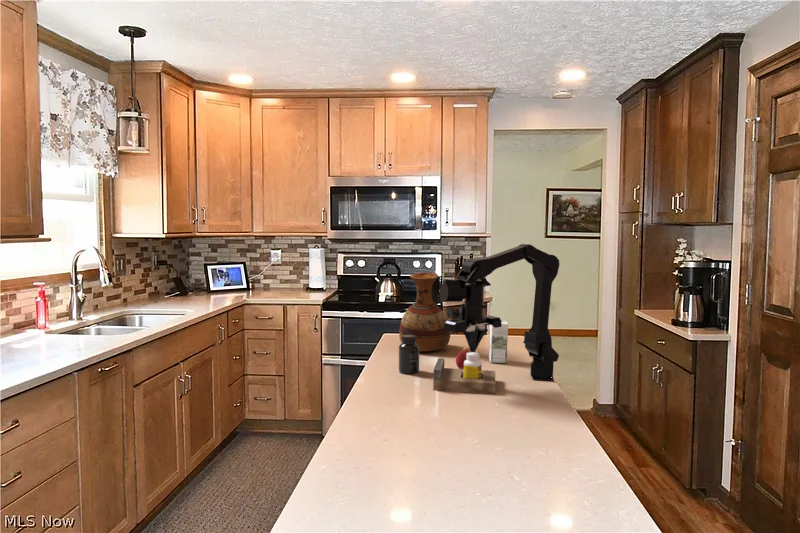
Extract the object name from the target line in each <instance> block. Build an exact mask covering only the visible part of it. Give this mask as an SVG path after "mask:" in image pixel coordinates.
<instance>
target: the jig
mask: <svg viewBox="0 0 800 533" xmlns="http://www.w3.org/2000/svg"><path fill="white" fill-rule="evenodd" d="M445 360H446V359H445V358H442V357H441V358H439V357H438V358H437V361H436V363H435V366H434V368H433V376H432V378H433V384H432V385H433V387H432V390H434V391H445V392H446V391H447V392H461V393H462V392H463V393H474V394H475V393H476V394H477V393H478V394H491V395H495V394H496V370H485V369H483V370H481V379H469V378H463V373H464V369H459V368H453V367H452V368H448V367H445Z"/></svg>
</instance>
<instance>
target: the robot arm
mask: <svg viewBox="0 0 800 533" xmlns="http://www.w3.org/2000/svg"><path fill="white" fill-rule="evenodd" d="M522 260H524V261H526V262H527V263H528V264H530V265H531V267H532V275H533V277H534V280H535V288H534V300H533V301H534V302H533V310H532V324H531V327H530V329H529V330H525V331H524V339H523V344H524V348H525V350H526V351H527V352H528V355H529V357H530V358H532V361H530V368H529V369H530V370H529V371H530V372H529V375H530V377H531V379H532V380H534V381H536V380H537V381H550V382H553V380H555V379H554V363H555V362H558V360H559V356H560V355H559V353H558V352H557V351H556V350H555V349H554V348H553V343H552V342H553V341H552V340H553V339H552V336H551V333H550V331H549V322H550V321H549V319H550V309H551V308H550V307H551V296H552V285H553V282H554V281H555V279H556V277H557V275H558V273H559V269H560V263H561V262H560V259H559V258H558V257H557V256H556V255H555V254H549V253H547V252H545V251H543V250H541V249H539V248H536V246H533V245H532V244H529V243H527V244H526V243H522V244H519V245H518V246H515V247H512V248H509V249H507V250H503V251H501V252H498V253H494V254H492V255H490V256H489V255H488V256H481V257H474V258H473V257H472V258H467V259H465V261H464V262H463V264H462V267H461V269H460V271H459V272H458V273H457V275H456V276H455V278H453V279H450V278H449V279H448V278H443V280H442V283H441V284H440V289H439V298H440V301H441V302H442V303H455V302H456V303H458V302H462V301H464V302H463V303H461V305H460V308H457V309H456V307H454V306H453V307H448V308H447V311H446V317H447V321H446V322H445V323H444V330H447V331H450V333H456V334H459V333H462V334H463V335H464V336H465V339H466V342H467V345H468V348H469V351H470V352H475V353H476V351H477V349H478V347H479V345H480V344H481V341H482V340H483V337H484V336H485V335H486V333H487V332H488V331H489V329H488V328H487V329H486V326H490V325H493V327H495V328H497V327H501V322H502V321H503V320H502V319H501V318H500V317H499V316H493V315H484V309H487V304H484V300H485V296H484V294H485V293H484V292H485V287H490V286H491V285H492V284H491V283H490V282H489V281H488V280H487V278H486V277H487V276H490V275H491V274H492V273H493V272H494V271H496V270H497V269H499V268H502V267H505V266H507V265H511V264H513V263H517V262H519V261H522ZM448 319H450V320H448ZM551 377H552V378H551ZM551 380H552V381H551Z"/></svg>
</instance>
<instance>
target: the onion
mask: <svg viewBox="0 0 800 533" xmlns="http://www.w3.org/2000/svg"><path fill="white" fill-rule="evenodd" d="M467 353H469V351H468V348H467V347H464V348H463V349H462V350H461V351H460V352H458V354H457V355H456V357H455V363H456V364H455V365H456V366H457V369H464V361H465V360H467V358H466V354H467Z"/></svg>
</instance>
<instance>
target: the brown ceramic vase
mask: <svg viewBox="0 0 800 533" xmlns="http://www.w3.org/2000/svg"><path fill="white" fill-rule="evenodd" d="M409 278H410V279H411V280H412V281H413V282H414V284H415V287H416V290H415V291H416V297H415V302H414V303H413V304H411V305H410V306H409V307H408V308H407V310H406V311H405V312H404V314H403V315H402V318H401V321H400V324H399V336H398V337H399V341H400V344H401V343H402V336H403V335H416V340H417V341H416V343H417V344H418V345H419V352H431V351H438V350H440V349H443V348H445V347H446V346H447V345H448V344H449V343H450V339H451V332H450V331H447V330H444V323H445V322H446V321H448V318H447V316H446V315H445V313H444V312H443V310H442V309H441V307H439V306H438V302H439V298H440V293H439V291H440V288H441V281H440V277H439V275H438V274H437V273H435V272H430V271H429V272H428V271H426V272H425V271H424V272H415V273H414V274H410V275H409Z"/></svg>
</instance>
